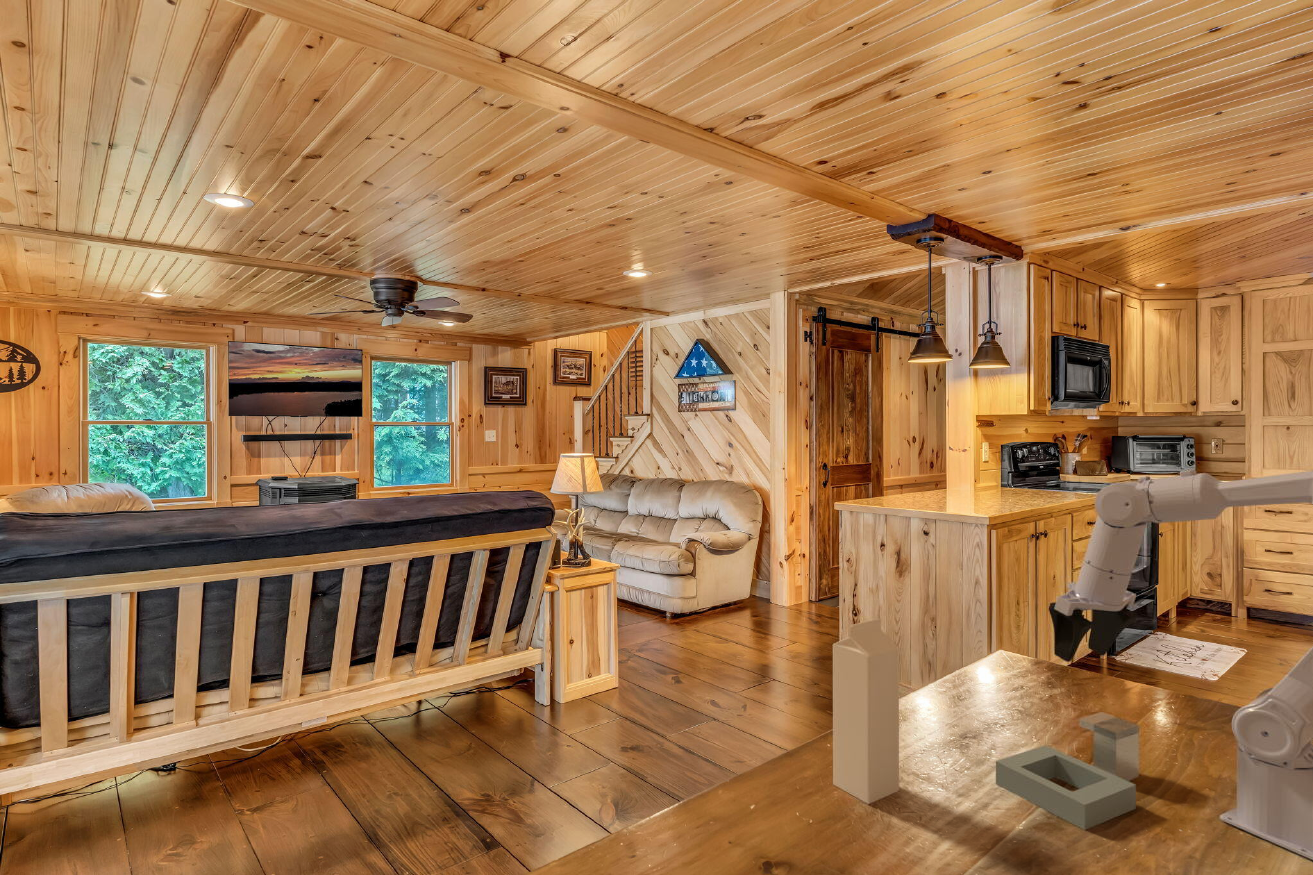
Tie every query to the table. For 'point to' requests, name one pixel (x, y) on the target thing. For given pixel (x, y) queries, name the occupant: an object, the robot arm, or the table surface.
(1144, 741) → the table surface
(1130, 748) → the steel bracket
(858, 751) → the milk
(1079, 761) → the well block
